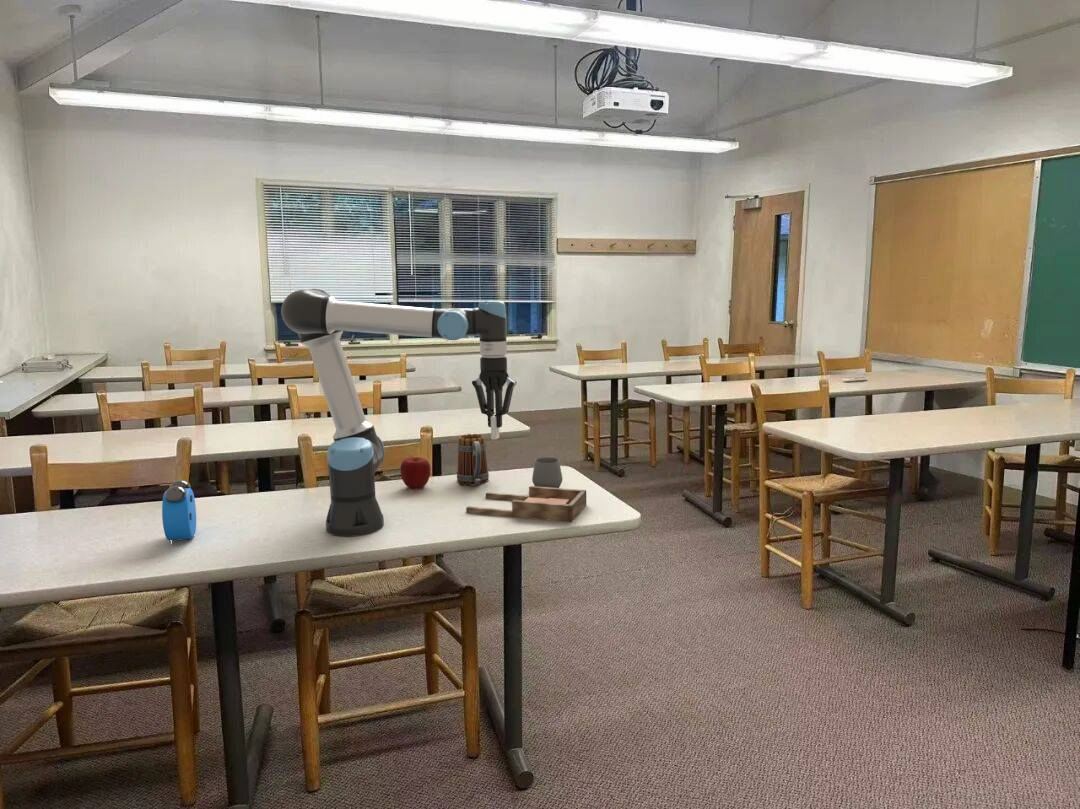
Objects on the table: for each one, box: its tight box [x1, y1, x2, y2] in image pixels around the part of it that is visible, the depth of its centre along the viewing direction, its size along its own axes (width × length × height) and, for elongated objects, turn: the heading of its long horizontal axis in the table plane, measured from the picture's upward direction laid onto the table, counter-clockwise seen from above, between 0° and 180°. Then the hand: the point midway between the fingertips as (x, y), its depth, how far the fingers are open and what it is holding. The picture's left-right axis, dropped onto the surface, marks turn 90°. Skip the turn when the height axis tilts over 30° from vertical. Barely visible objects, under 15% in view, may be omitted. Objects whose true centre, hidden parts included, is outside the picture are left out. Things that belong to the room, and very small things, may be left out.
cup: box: [531, 456, 563, 488], centre depth 221 cm, size 10×9×10 cm
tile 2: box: [545, 498, 569, 504], centre depth 202 cm, size 6×6×3 cm
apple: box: [399, 456, 431, 490], centre depth 227 cm, size 10×10×10 cm
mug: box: [456, 433, 490, 486], centre depth 231 cm, size 16×11×15 cm
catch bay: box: [465, 485, 587, 523], centre depth 204 cm, size 31×15×4 cm, turn 72°
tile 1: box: [525, 497, 548, 502], centre depth 203 cm, size 6×6×3 cm
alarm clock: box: [161, 479, 197, 542], centre depth 184 cm, size 13×6×15 cm, turn 18°
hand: (495, 438), depth 204 cm, fingers closed
